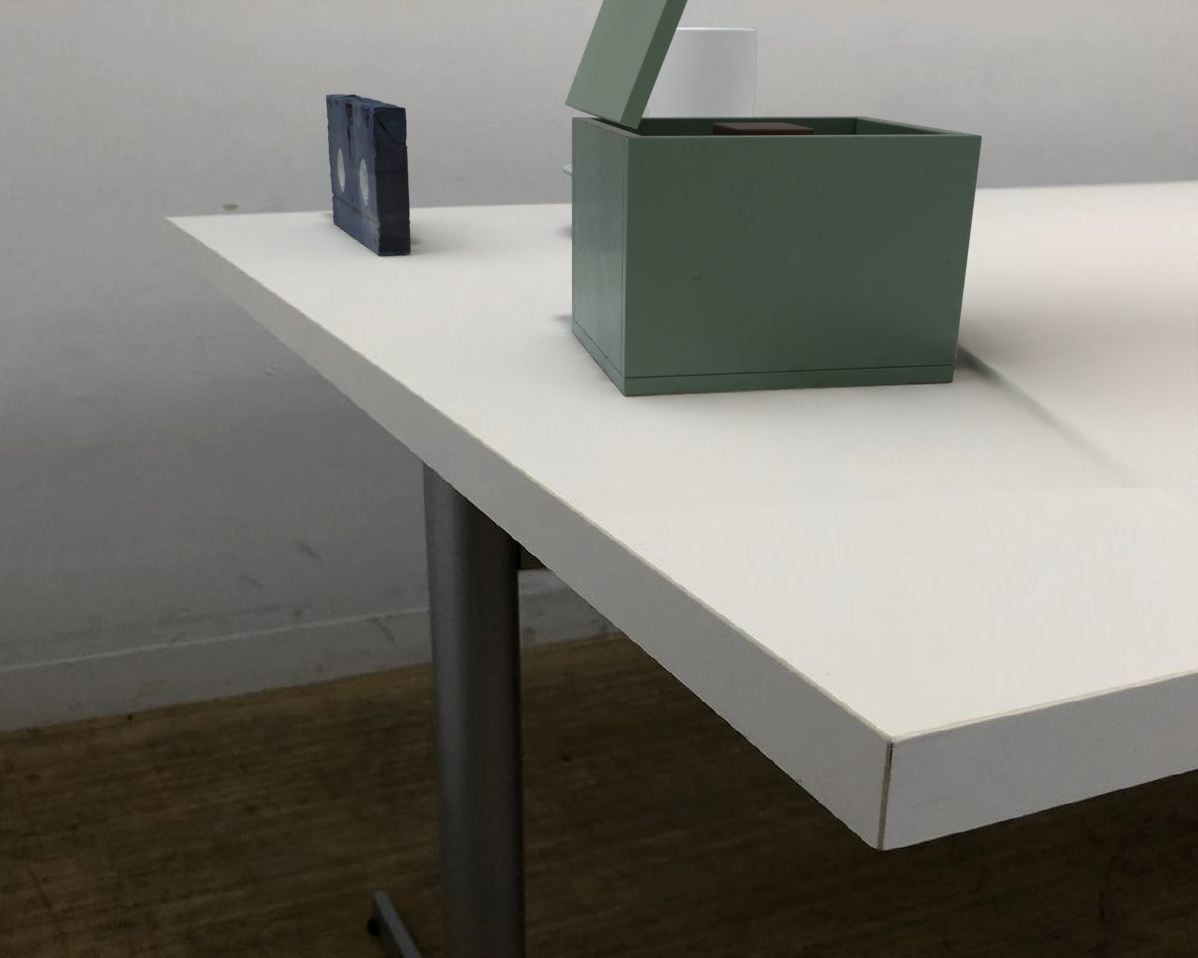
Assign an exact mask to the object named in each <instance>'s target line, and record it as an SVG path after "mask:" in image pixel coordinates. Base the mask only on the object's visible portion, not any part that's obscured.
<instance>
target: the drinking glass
mask: <svg viewBox="0 0 1198 958" xmlns="http://www.w3.org/2000/svg"><path fill="white" fill-rule="evenodd" d="M757 72H758V29H757V28H755V27H692V26H691V27H683V26H682V27H681V26H680V27H678V26H677V29H676V31H675V34H674V37H673V39H672V42H671V44H670V47H669V49H668V52H667V54H666V57H665V59H664V62H663V65H662V67H661V70H660V72H659V75H658V77H657V80H656V82H655V85H654V87H653V90H652V93H651V95H650V98H649V100H648V103H647V117H754V109H755V101H756V88H757V74H758V73H757Z"/></svg>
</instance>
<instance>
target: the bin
mask: <svg viewBox="0 0 1198 958" xmlns="http://www.w3.org/2000/svg"><path fill="white" fill-rule="evenodd" d="M714 123H788V124H793V125H798V126H803V127H808V128H813V129H814V130H815V135H765V136H713V125H714ZM982 139H983V136H982V135H981V134H974V133H967V132H961V131H955V130H950V129H944V128H937V127H932V126H925V125H919V124H914V123H913V124H912V123H908V122H907V123H906V122H901V121H896V120H895V121H894V120H888V119H883V118H875V117H870V116H864V115H861V116H860V115H859V116H857V115H856V116H852V115H850V116H847V115H846V116H845V115H844V116H842V115H841V116H839V115H838V116H836V115H835V116H834V115H833V116H827V115H826V116H825V115H824V116H753V117H648V116H642V118H641V121H640V123H639V126H638V128H637V129H634V128H630V127H627V126H624V125H621V124H618V123H615V122H612V121H609V120H606V119H603V118H600V117H597V116H575V117H574V116H573V117H572V118H571V163H572V177H571V316H572V318H571V332H572V333H573V335H574V336H575V337H576V338H577V339H578V341H580V343H581V344H582V345H583V347H584V348H585V350H587V352H588V353H589V354H590V355H591V356H592V358H593V359H594V360H595V362H597V364H598V365H599V366H600V368H602V371H604V373H606V375H607V376H608V377H609V379H610V380H611V381H612V382H613V383H614V384H615V386H616V387H617V388H618V390H620V392H621V393H622V395H624V396H625V397H626V396H647V395H648V396H650V395H672V394H673V395H674V394H675V395H676V394H696V393H697V394H698V393H699V394H700V393H719V392H720V393H721V392H723V393H724V392H742V391H744V392H745V391H766V390H767V391H768V390H769V391H771V390H790V389H793V390H794V389H813V388H815V389H816V388H841V387H863V386H886V385H911V384H935V383H936V384H937V383H953V382H954V377H955V369H956V368H955V367H956V366H955V365H956V359H957V350H958V341H959V333H960V326H961V318H962V317H961V316H962V309H963V298H964V291H965V283H966V276H967V275H966V274H967V267H968V258H969V257H968V256H969V250H970V239H971V232H972V225H973V215H974V207H975V200H976V199H975V198H976V190H977V182H978V172H979V166H980V165H979V164H980V157H981V149H982Z"/></svg>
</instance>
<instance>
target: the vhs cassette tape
mask: <svg viewBox="0 0 1198 958" xmlns="http://www.w3.org/2000/svg"><path fill="white" fill-rule="evenodd" d="M325 103H326V119H327V125H326V126H327V127H326V128H327V142H328V155H329V156H328V161H329V169H330V171H329V172H330V174H329V176H330V177H329V178H330V186H331V193H332V198H331V202H332V215H333V216H332V221H333V222H332V223H333V224H335V225H336V226H338V227H339V228H340V229H342V230H343V231H344V232H346V233H347V234H348V235H350V236H351V237H353V238H354V239H355V240H356V241H358V242H359V243H361V244H362V245H363V246H365V247H366V248H368V249H369V250H370V251H371V252H373V253H375V254H376V255H379V256H383V255H384V256H385V255H386V256H387V255H388V256H389V255H401V254H402V255H406V254H407V255H408V254H411V251H412V246H411V244H412V243H411V220H410V217H411V210H410V207H411V205H410V184H409V182H410V181H409V156H408V146H407V139H408V129H407V125H408V124H407V111H406V110H407V109H406V107H403V106H398V105H396V104H393V103H392V104H391V103H389V102H388V103H387V102H383V101H381V100H377V99H373V98H370V97H364V96H363V97H362V96H361V95H357V94H355V93H354V94H353V93H351V94H343V93H342V94H341V93H338V94H337V93H334V94H326V95H325Z"/></svg>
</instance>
